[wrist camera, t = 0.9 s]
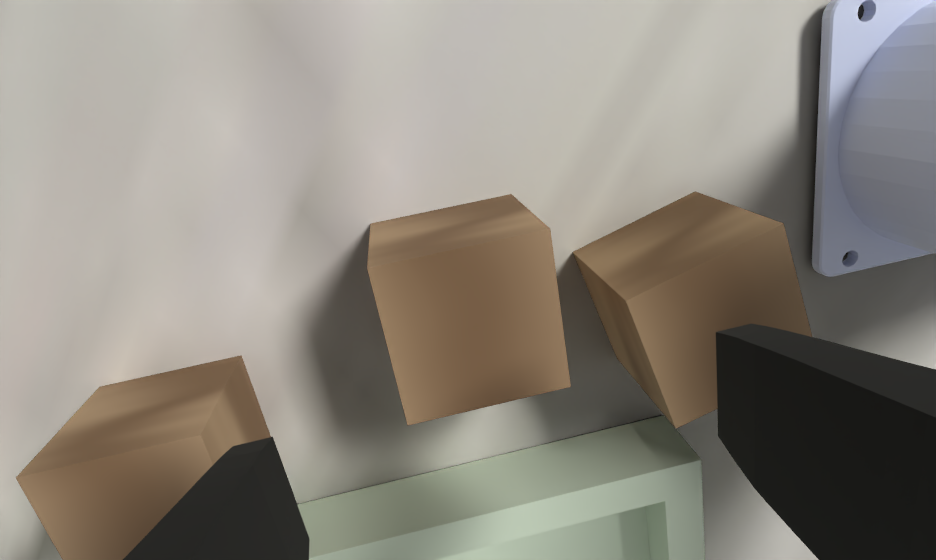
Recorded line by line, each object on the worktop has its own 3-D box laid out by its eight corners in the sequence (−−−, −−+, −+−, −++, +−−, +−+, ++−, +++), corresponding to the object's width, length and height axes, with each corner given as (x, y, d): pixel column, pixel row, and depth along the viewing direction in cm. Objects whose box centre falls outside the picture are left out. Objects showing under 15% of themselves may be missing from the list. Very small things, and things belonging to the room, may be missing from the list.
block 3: (693, 190, 17) (783, 223, 13) (728, 302, 18) (818, 359, 14) (571, 251, 17) (625, 300, 13) (615, 356, 18) (676, 428, 14)
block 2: (510, 193, 16) (550, 228, 12) (529, 320, 17) (570, 386, 14) (370, 223, 16) (367, 268, 12) (402, 349, 17) (407, 425, 13)
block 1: (241, 354, 16) (201, 434, 13) (282, 465, 18) (255, 567, 14) (100, 385, 16) (15, 477, 12) (152, 495, 17) (90, 609, 14)
